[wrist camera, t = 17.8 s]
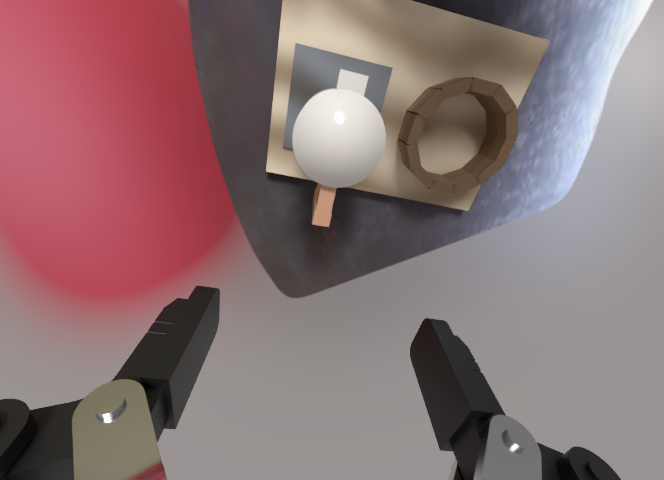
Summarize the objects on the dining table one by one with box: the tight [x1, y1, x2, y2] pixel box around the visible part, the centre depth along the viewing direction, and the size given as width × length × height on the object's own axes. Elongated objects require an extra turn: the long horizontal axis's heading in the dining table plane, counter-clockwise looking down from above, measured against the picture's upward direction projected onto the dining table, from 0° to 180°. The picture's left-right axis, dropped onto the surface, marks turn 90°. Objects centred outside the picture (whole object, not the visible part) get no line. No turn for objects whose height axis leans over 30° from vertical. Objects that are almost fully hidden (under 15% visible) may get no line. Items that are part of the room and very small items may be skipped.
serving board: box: [266, 0, 550, 211], centre depth 27 cm, size 17×24×5 cm
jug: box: [292, 69, 386, 227], centre depth 24 cm, size 11×6×10 cm, turn 168°
